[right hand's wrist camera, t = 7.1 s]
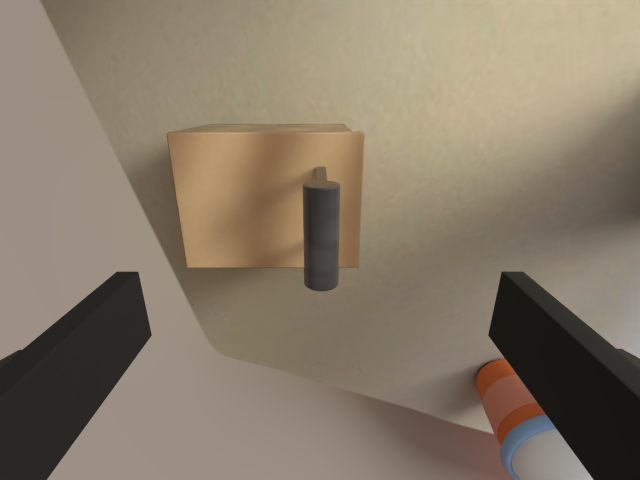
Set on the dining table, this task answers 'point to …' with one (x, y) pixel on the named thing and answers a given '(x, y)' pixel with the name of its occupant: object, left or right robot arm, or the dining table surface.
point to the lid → (270, 200)
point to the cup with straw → (524, 429)
